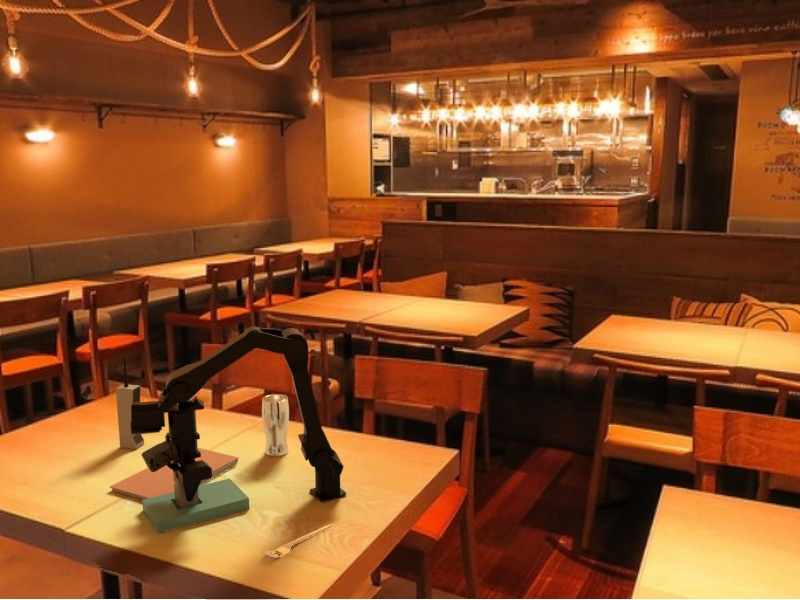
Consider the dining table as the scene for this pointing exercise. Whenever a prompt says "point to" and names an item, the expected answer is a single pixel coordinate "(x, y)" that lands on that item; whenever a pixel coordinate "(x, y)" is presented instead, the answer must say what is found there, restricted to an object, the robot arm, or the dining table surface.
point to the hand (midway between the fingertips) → (186, 497)
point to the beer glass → (275, 424)
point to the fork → (294, 542)
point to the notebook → (169, 476)
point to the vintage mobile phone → (127, 413)
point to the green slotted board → (196, 506)
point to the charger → (182, 494)
